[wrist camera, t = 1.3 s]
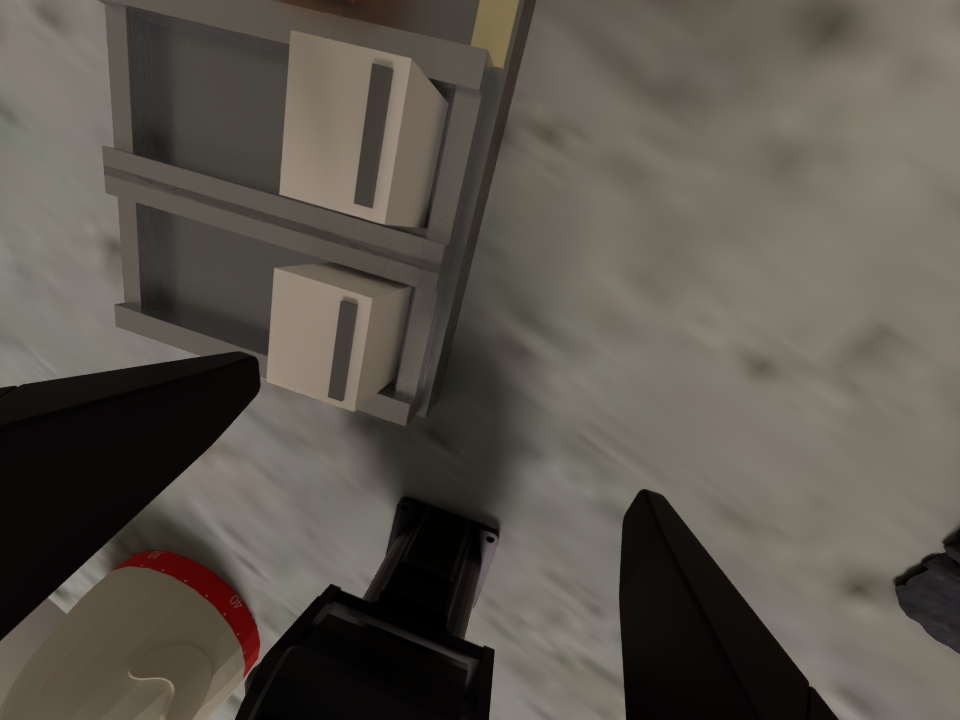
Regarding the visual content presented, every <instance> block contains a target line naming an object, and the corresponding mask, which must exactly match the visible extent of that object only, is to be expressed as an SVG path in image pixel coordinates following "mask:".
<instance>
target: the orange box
mask: <svg viewBox="0 0 960 720" xmlns="http://www.w3.org/2000/svg"><path fill="white" fill-rule="evenodd" d="M340 1H344V2H349V3H353V4H354V0H340Z"/></svg>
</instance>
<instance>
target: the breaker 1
mask: <svg viewBox="0 0 960 720" xmlns="http://www.w3.org/2000/svg"><path fill="white" fill-rule="evenodd" d="M447 109H448V102H447V101H446V100H445V99H444V97H443V96H442V95H441V94H440V93H439V91H438V90H437V89H436V88H435V87H434V85H433V84H432V83H431V82H430V80H429V79H428V78H427V77H426V76H425V74H424V73H423V72H422V71H421V69H420V68H419V67H418V66H417V65H416V63H415V62H414V61H413V60H412V58H408V57H403V56H399V55H395V54H391V53H386V52H382V51H378V50H374V49H369V48H365V47H361V46H357V45H352V44H348V43H344V42H340V41H336V40H331V39H327V38H323V37H319V36H314V35H310V34H306V33H302V32H297V31H293V30H291V34H290V48H289V63H288V77H287V91H286V106H285V120H284V134H283V149H282V163H281V178H280V192H279V194H280V195H283V196H287V197H290V198H294V199H297V200H301V201H304V202H308V203H311V204H315V205H318V206H322V207H325V208H328V209H332V210H335V211H339V212H342V213H346V214H349V215H353V216H356V217H360V218H363V219H367V220H370V221H374V222H377V223H381V224H384V225H394V226H406V227H417V228H424V226H425V221H426V215H427V210H428V205H429V200H430V195H431V190H432V185H433V180H434V175H435V170H436V165H437V160H438V155H439V150H440V145H441V140H442V134H443V129H444V124H445V119H446V114H447Z"/></svg>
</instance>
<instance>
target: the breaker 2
mask: <svg viewBox="0 0 960 720" xmlns="http://www.w3.org/2000/svg"><path fill="white" fill-rule="evenodd" d="M411 291H412V286H410V285H407V284H404V283H400V282H397V281H394V280H390V279H387V278H384V277H381V276H377V275H374V274H371V273H367V272H364V271H361V270H358V269H354V268H351V267H348V266H344V265H341V264H338V263H334V262H329V263H318V264H308V265H297V266H287V267H276V268H274V278H273V292H272V307H271V321H270V335H269V350H268V364H267V378H266V382H268V383H271V384H274V385H277V386H280V387H283V388H286V389H289V390H291V391H294V392H297V393H300V394H303V395H306V396H309V397H312V398H314V399H317V400H320V401H323V402H326V403H329V404H332V405H335V406H338V407H340V408H343V409H346V410H349V411H352V412H355V411H356V410H357V409H358V408H360V407H361V406H362V405H363V404H364V403H366V402H367V401H368V400H369V399H370V398H372V397H373V396H374V395H375V394H376V393H378V392H379V391H380V390H381V389H382V388H384V387H385V386H386V385H387V384H388V383H390V382H391V381H392V380H393V379H394V377H395V372H396V367H397V362H398V357H399V352H400V347H401V342H402V337H403V332H404V327H405V322H406V317H407V312H408V307H409V302H410V296H411Z"/></svg>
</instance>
